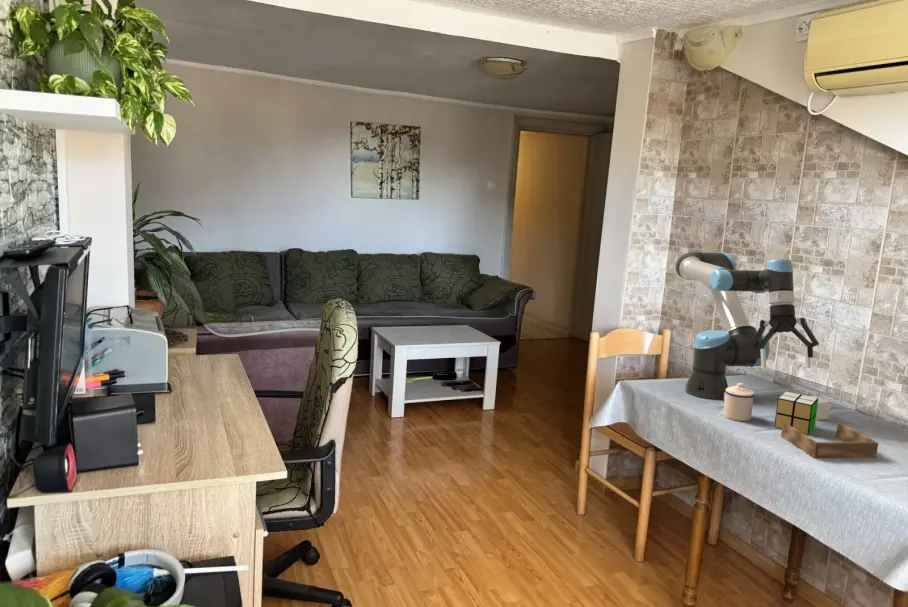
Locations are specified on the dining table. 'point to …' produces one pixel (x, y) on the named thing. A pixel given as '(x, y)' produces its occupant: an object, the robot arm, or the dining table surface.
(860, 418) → the dining table surface
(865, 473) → the dining table surface
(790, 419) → the puzzle cube
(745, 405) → the teacup with lid
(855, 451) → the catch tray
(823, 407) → the cream white cube
